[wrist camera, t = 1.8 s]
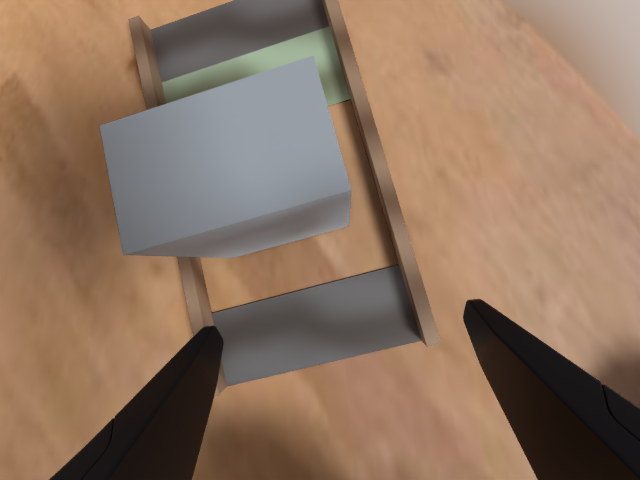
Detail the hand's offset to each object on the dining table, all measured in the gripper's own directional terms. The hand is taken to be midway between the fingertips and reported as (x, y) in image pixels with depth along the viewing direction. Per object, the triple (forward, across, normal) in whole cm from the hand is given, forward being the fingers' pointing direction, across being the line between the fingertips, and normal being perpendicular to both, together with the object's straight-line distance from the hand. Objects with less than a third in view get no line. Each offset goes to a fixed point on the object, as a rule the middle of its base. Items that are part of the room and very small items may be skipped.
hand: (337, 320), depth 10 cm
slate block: (+14, +4, +2) cm, 15 cm away
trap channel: (+16, +5, -1) cm, 17 cm away
